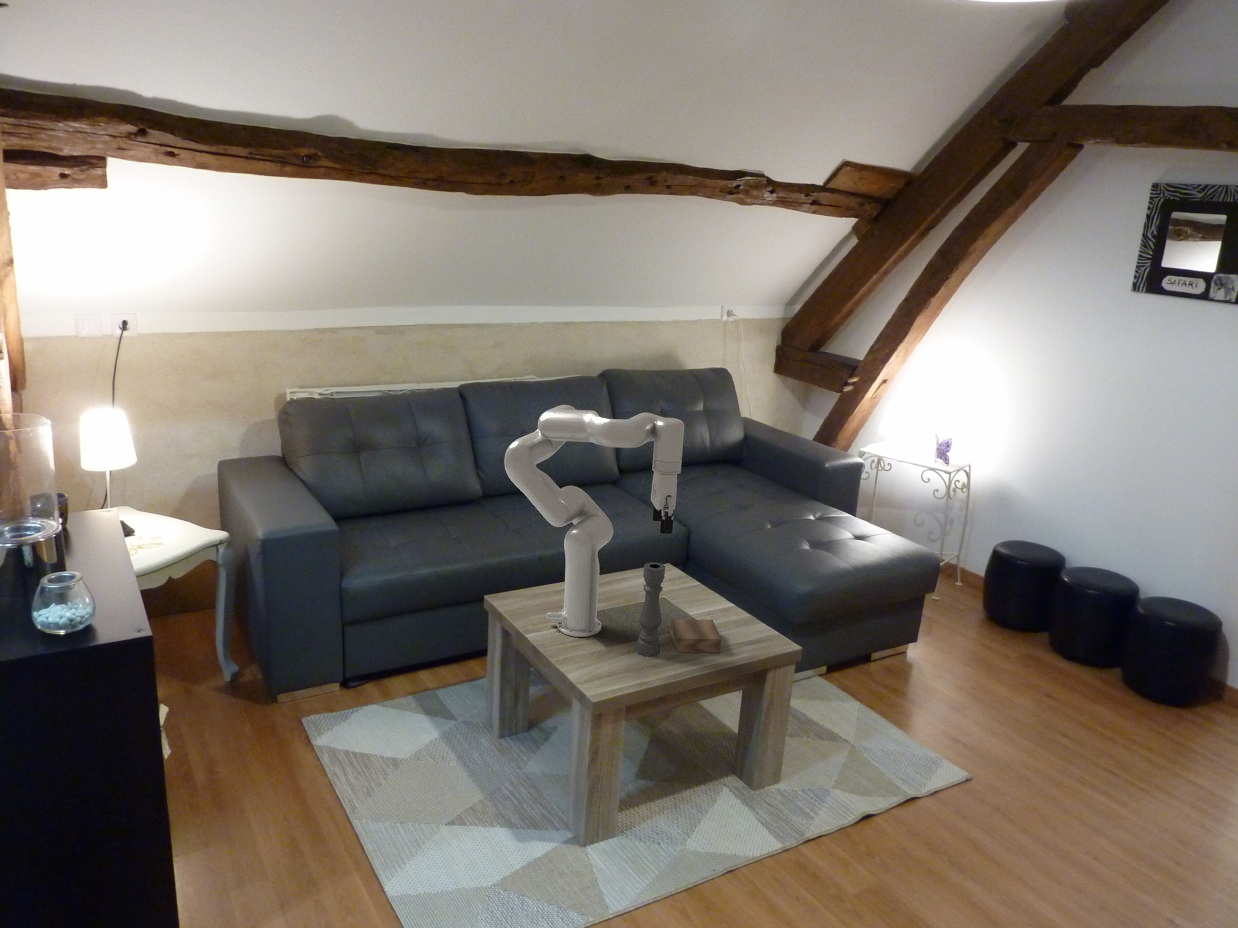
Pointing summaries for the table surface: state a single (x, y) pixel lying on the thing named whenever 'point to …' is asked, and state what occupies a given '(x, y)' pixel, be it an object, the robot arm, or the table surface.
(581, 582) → the robot arm
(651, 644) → the candle holder
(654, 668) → the table surface
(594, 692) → the table surface
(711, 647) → the walnut plinth
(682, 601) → the table surface
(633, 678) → the table surface
